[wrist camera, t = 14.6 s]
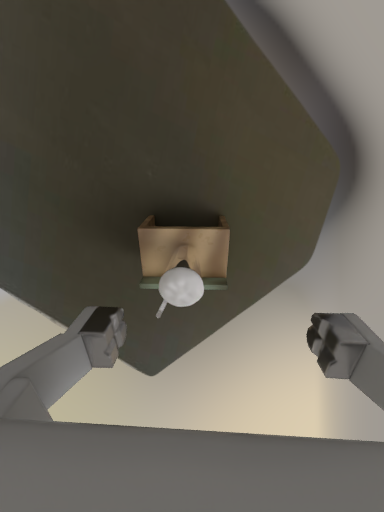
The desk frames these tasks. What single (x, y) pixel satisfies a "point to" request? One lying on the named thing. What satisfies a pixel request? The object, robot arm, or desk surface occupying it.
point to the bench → (169, 238)
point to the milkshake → (181, 279)
